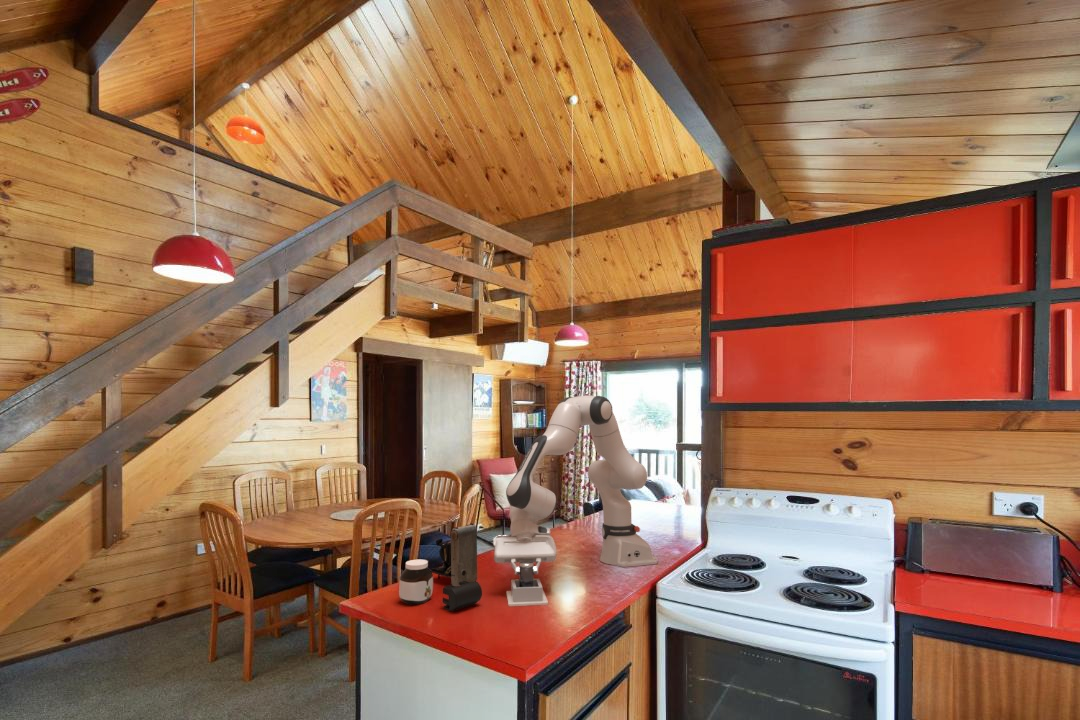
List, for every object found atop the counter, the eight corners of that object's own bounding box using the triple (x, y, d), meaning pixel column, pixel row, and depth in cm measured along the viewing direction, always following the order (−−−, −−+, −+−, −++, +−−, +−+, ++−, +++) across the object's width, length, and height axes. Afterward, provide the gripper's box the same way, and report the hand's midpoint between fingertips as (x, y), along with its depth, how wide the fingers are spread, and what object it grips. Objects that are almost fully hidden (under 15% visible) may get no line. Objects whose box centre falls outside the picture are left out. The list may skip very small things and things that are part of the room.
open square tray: (543, 591, 176) (543, 577, 176) (548, 604, 164) (548, 588, 164) (506, 593, 174) (506, 578, 175) (508, 606, 163) (508, 590, 163)
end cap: (456, 615, 156) (456, 590, 156) (441, 608, 161) (441, 585, 161) (482, 606, 163) (482, 582, 164) (467, 600, 168) (467, 577, 169)
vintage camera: (446, 576, 194) (445, 519, 196) (478, 582, 185) (477, 523, 187) (426, 583, 186) (425, 524, 188) (458, 590, 177) (457, 528, 179)
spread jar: (412, 608, 161) (413, 568, 162) (386, 601, 167) (387, 562, 168) (440, 596, 171) (441, 559, 172) (415, 590, 177) (416, 553, 178)
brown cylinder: (532, 586, 172) (532, 560, 173) (534, 591, 167) (534, 564, 168) (518, 587, 171) (518, 561, 172) (519, 592, 167) (519, 565, 168)
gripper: (493, 529, 177) (493, 569, 166) (554, 528, 179) (559, 567, 169) (492, 540, 181) (493, 579, 170) (552, 539, 183) (557, 577, 172)
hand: (526, 573), depth 169 cm, fingers closed on brown cylinder, 4 cm apart
